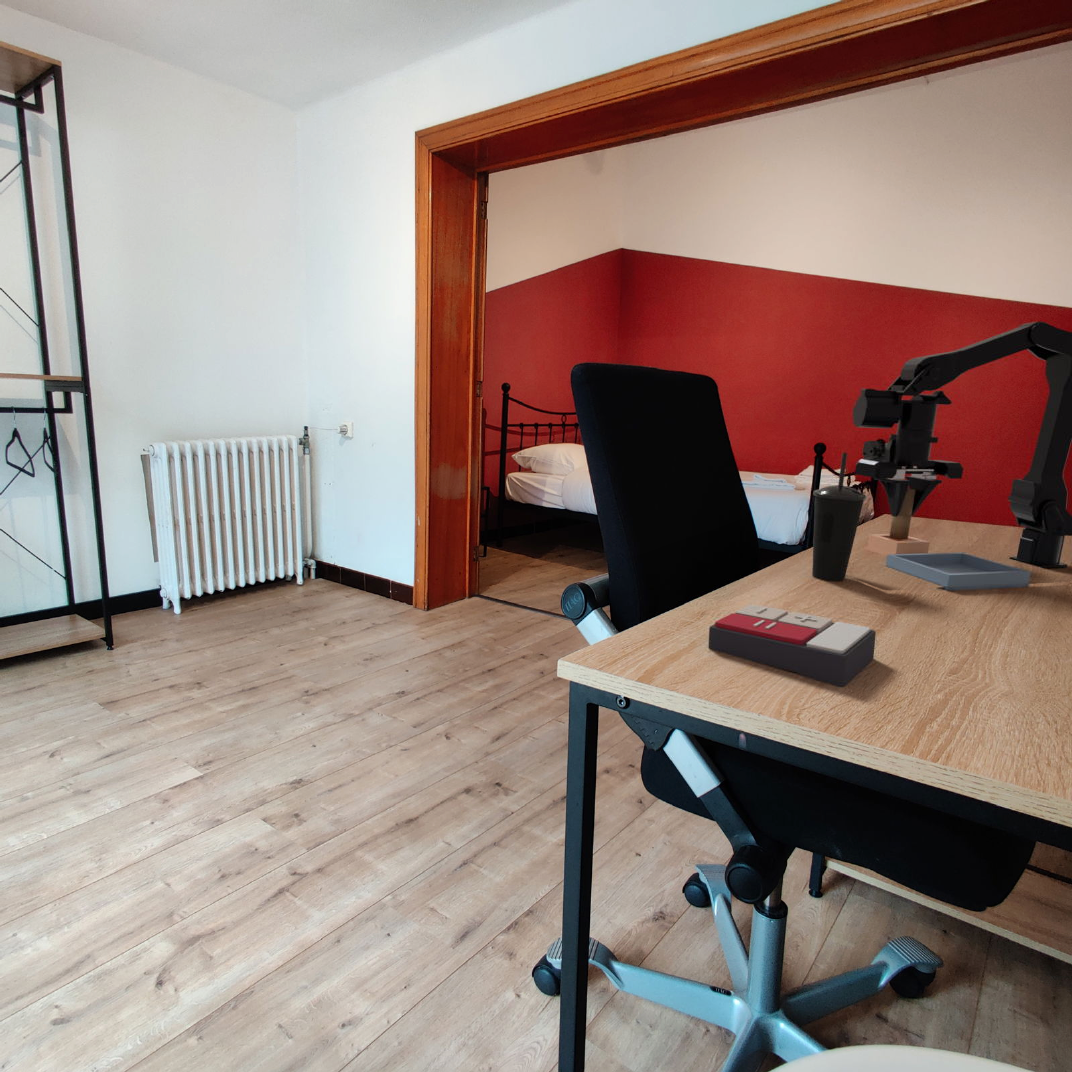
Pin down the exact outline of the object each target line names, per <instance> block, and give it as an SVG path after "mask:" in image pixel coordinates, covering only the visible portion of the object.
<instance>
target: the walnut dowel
mask: <svg viewBox="0 0 1072 1072" xmlns="http://www.w3.org/2000/svg"><path fill="white" fill-rule="evenodd" d="M914 496H915V490H914V489H909V488H908V489H907V492H906V495H905V498H904V501H903V504H902V507H901V510H900V512H899V514H898V516H897V517H894V516H891V517H892V519H891V524H890V529H889V530H890V531H889V534H890V538H894V539H901V540H907V539H908V536H909V532H910V527H911V520H912V517H911V515H912V508H913V502H914Z"/></svg>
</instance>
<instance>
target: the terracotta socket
mask: <svg viewBox="0 0 1072 1072" xmlns="http://www.w3.org/2000/svg"><path fill="white" fill-rule="evenodd" d="M868 535H869V536H868V540H867V541H868V542H867V549H866V550H867V551H868V552H871V553H874V554H876V555H880V556H882V557H886V558H887V555H890V554H922V553H929V548H930V541H928V540H924V539H920V538H916V537H914V536H913V537H912V536H909V535H908V539H907V540H901V539H894V538H890V533H879V534H878V533H875V534H874V533H873V534H868Z"/></svg>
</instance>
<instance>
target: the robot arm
mask: <svg viewBox="0 0 1072 1072" xmlns="http://www.w3.org/2000/svg"><path fill="white" fill-rule="evenodd" d="M1025 350H1027V351H1028V352H1030V353H1031V355H1033V356H1034V357H1036V358H1037V359H1040V360H1042V361H1044V362H1045V372H1044V373H1045V378H1046V380H1047V383H1048V388H1049V392H1048V397H1047V402H1046V405H1045V410H1044V413H1043V417H1042V421H1041V424H1040V430H1039V433H1038V437H1037V441H1036V443H1035V444H1036V445H1035V450H1034V453H1033V457H1032V461H1031V465H1030V469H1029V471H1028V472H1027V473H1026V474H1025V475H1024V477H1023V478H1022V479H1019V478H1013V480H1012V483H1011V492H1010V494H1009V496H1008V498H1007V499H1006V501H1008V502H1009V501H1010V504H1009V508H1010V511H1011V512H1012V513H1013V515H1014V516H1015V521H1016V525H1017V526H1018V527H1019V526H1020V527H1023V529H1022V532H1021V533H1022V534H1021V537H1020V538H1019V541H1018V542H1019V543H1018V547H1017V553H1016V556H1009V558H1008V559H1009V560H1011V561H1012V560H1013V561H1016V562H1020V563H1022V564H1027V565H1029V566H1034V567H1038V568H1041V569H1045V568H1046V569H1048V568H1051V569H1052V568H1068V565H1069V564H1068V563H1064V562H1061V558H1062V551H1063V549H1064V544H1065V543H1064V542H1065V537H1067V536H1068V537H1072V515H1071V514H1070V512H1069V511H1068V509H1067V505H1068V495H1069V494H1068V489H1067V486H1066V485H1067V484H1066V483H1065V482H1066V481H1065V478H1064V471H1065V468H1066V465H1067V460H1068V456H1069V452H1070V447H1071V445H1072V331H1069V330H1065V329H1062V328H1057V327H1055V326H1054V325H1051V324H1049V323H1048V322H1045V321H1035V322H1027V323H1023V324H1020V325H1019V326H1017V327H1016V328H1013V329H1010V330H1007V331H1005V332H1002V333H999V334H997V335H994V336H991V337H989V338H986V339H983V340H981V341H977V342H974V343H971V344H969V345H966V346H964V347H961V348H958V349H956V350H952V351H947V352H940V353H934V354H929V355H924V356H918V357H914V358H913V357H912V358H911V359H909V360H907V361H906V362H905V363H904V364H903V367H902V368H901V370H900V374H899V376H898V377H897V378H896V379H895V380H894V381H893V382H892V383H891V384H890V385H889V386H888V387H887V388H886V390H883V389H882V390H881V389H880V390H879V389H875V388H861V390H860V395H859V396H858V398H857V399H856V401H855V404H854V406H853V407H852V422H853V425H854V426H855V427H856V428H867V429H870V428H871V429H891V428H893V427H894V426H895V424H896V425H897V429H896V433H891V435H890V436H889V440H888V442H887V443H879V441H878V440H867V441H865V442H864V443H863V446H862V458H861V459H859V460H858V461H857V462H856V463H855V468H854V469H855V470H854V475H858V476H862V477H863V476H864V477H868V478H874V480H876V481H877V480H878V481H879V483H881V485H882V486H883V488H884V491H885V494H886V497H887V503H888V506H889V511H890V515H891V517H893V516H894V517H897V516H898V514H899V512H900V510H901V507H902V504H903V501H904V498H905V495H906V492H907V489H914V490H915V496H914V502H913V508H912V515H911V518H912V517H914V515H915V514H916V512H917V511H918V509H920V507H921V505H922V504H923V503H924V501H925V500H926V499H927V498H928V496H929V495H930V494H931V493H932V491H934V490H935V488H937V486H938V485H939V484H942V483H943V480H942V479H937V477H938V476H943V477H946V478H947V479H952V480H954V479H956V480H961V479H962V478H963V472H964V467H963V466H962V464H961V463H960V462H956V461H955V462H954V461H951V460H950V461H949V460H943V459H930V457H931V448H932V444H937V443H938V442H939V440H938V439H939V437H938V436H934V430H935V424H936V419H937V418H936V417H937V411H938V406H939V405H945V406H949V405H952V400H951V399H949V397H948V396H947V395H946V394H945V392H944V391H943V390H939V389H941V388H942V387H945V386H946V385H948V384H949V383H952V382H954V381H955V380H956V379H958V378H959V377H960V376H961V375H962V374H964V373H966V372H968V371H970V370H973V369H975V368H976V369H977V368H978V367H981V366H984V365H986V364H989V363H992V362H996V361H998V360H1001V359H1003V358H1007V357H1009V356H1011V355H1014V354H1018V353H1020V352H1022V351H1025ZM931 391H934V392H932V393H931V394H925V393H924V392H931ZM922 393H924V394H922ZM903 396H904V397H905V396H909V397H911V396H912V397H911V398H910V399H902V398H903Z"/></svg>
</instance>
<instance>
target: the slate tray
mask: <svg viewBox="0 0 1072 1072" xmlns="http://www.w3.org/2000/svg"><path fill="white" fill-rule="evenodd" d="M885 567H886V568H889V569H893V570H895V571H898V572H901V573H904V574H906V575H909V576H913V577H914V578H915V577H916V578H919V579H921V580H923V581H927V582H930V583H932V584H935V585H937V586H938V585H939V586H940V587H939V586H938V587H937V588H938V589H941V590H943V591H946V592H948V591H949V592H951V591H968V590H970V591H971V590H991V589H1010V588H1011V589H1012V588H1015V589H1016V588H1028V587H1029V585H1030V580H1031V579H1030V578H1031V574H1032V571H1030V570H1026V569H1023V568H1019V567H1016V566H1012V565H1009V564H1005V563H1003V562H998V561H994V560H991V559H988V558H984V557H980V556H977V555H974V554H971V553H966V552H962V551H961V552H960V551H959V552H957V551H956V552H955V551H954V552H933V553H932V552H930V553H929V552H928V553H922V554H890V555H887V557H886V560H885Z"/></svg>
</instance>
